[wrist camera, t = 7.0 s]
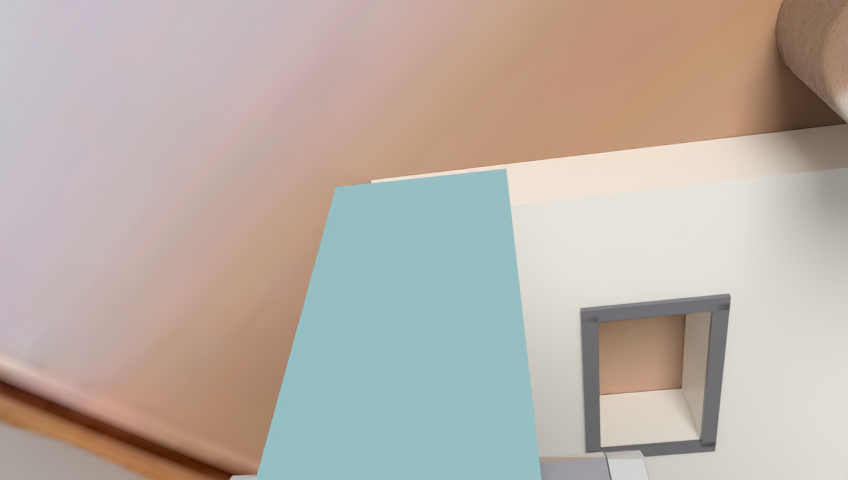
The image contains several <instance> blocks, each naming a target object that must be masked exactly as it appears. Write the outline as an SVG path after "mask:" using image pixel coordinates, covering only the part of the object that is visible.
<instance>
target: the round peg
mask: <svg viewBox="0 0 848 480" xmlns="http://www.w3.org/2000/svg"><path fill="white" fill-rule="evenodd" d="M776 37H777V45H778V49H779V52H780V55H781V57H782V59H783V61H784V62H785V64H786V65H787V67H788V68H789V69H790V70H791V71H792V72H793V73H794V74H795V75H796V76H797V77H798V78H799V79H801V80H802V81H803V82H804V83H805V84H806V85H807V86H808V87H809V88H810V89H811V90H812V91H813V92H814V93H816V94H817V95H818V96H819V97H820V98H821V99H822V100H823V101H824V102H825V103H826V104H827V105H828V106H829V107H830V108H832V109H833V110H834V111H835V112H836V113H837V114H838V115H839V116H840V117H841V118H842V119H843V120H844V121H845V122H846V123H848V0H784V1H783V3H782V5H781V8H780V12H779V15H778V20H777V28H776Z"/></svg>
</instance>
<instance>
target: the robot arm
mask: <svg viewBox="0 0 848 480" xmlns="http://www.w3.org/2000/svg"><path fill="white" fill-rule="evenodd" d="M539 461H540V470H541V479H542V480H650V477H649V473H648V470H647V466H646V462H645V458H644V456H643V454H642V453H641V451H640V450H634V451H619V452H605V454H604V453H603V452H594V453H581V454H568V455H556V456H543V457H539ZM256 477H257V475H240V476H232V477H231V479H230V480H256Z"/></svg>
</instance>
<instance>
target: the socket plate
mask: <svg viewBox="0 0 848 480" xmlns="http://www.w3.org/2000/svg"><path fill="white" fill-rule="evenodd" d="M498 169H506V170H507V179H508V188H509V197H510V206H511V215H512V223H513V232H514V241H515V250H516V259H517V267H518V276H519V285H520V294H521V303H522V312H523V320H524V329H525V338H526V347H527V356H528V364H529V373H530V382H531V391H532V400H533V409H534V417H535V426H536V435H537V444H538V453H539V457H543V456H556V455H568V454H581V453H594V452H603V453H604V454H605V452H619V451H634V450H640V451H641V453H642V454H643V456H644V458H645V462H646V466H647V470H648V473H649V477H650V480H848V124H841V125H833V126H824V127H816V128H808V129H799V130H791V131H782V132H774V133H765V134H757V135H748V136H740V137H732V138H723V139H715V140H706V141H698V142H689V143H681V144H673V145H664V146H656V147H647V148H639V149H630V150H622V151H613V152H605V153H597V154H588V155H580V156H571V157H563V158H554V159H546V160H538V161H529V162H521V163H512V164H504V165H495V166H487V167H478V168H470V169H462V170H453V171H445V172H436V173H428V174H419V175H411V176H403V177H394V178H386V179H377V180H372V181H371V183H379V182H388V181H397V180H406V179H415V178H425V177H434V176H443V175H452V174H461V173H471V172H480V171H489V170H498ZM679 314H686V322H685V338H684V355H683V371H682V387H681V389H669V390H657V391H646V392H634V393H623V394H611V395H600V393H599V350H598V322H606V321H617V320H627V319H637V318H648V317H658V316H669V315H679Z"/></svg>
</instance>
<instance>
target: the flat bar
mask: <svg viewBox="0 0 848 480" xmlns="http://www.w3.org/2000/svg"><path fill="white" fill-rule="evenodd" d="M256 480H542V479H541V470H540V461H539V453H538V444H537V435H536V426H535V417H534V409H533V400H532V391H531V382H530V373H529V364H528V356H527V347H526V338H525V329H524V320H523V312H522V303H521V294H520V285H519V276H518V267H517V259H516V250H515V241H514V232H513V223H512V215H511V206H510V197H509V188H508V179H507V170H506V169H498V170H489V171H480V172H471V173H461V174H452V175H443V176H434V177H425V178H415V179H406V180H397V181H388V182H379V183H369V184H360V185H351V186H342V187H336V189H335V192H334V196H333V200H332V203H331V207H330V211H329V214H328V218H327V222H326V225H325V229H324V232H323V236H322V240H321V243H320V247H319V251H318V254H317V258H316V262H315V265H314V269H313V273H312V276H311V280H310V284H309V287H308V291H307V295H306V298H305V302H304V306H303V309H302V313H301V317H300V320H299V324H298V327H297V331H296V335H295V338H294V342H293V346H292V349H291V353H290V357H289V360H288V364H287V368H286V371H285V375H284V379H283V382H282V386H281V390H280V393H279V397H278V401H277V404H276V408H275V412H274V415H273V419H272V422H271V426H270V430H269V433H268V437H267V441H266V444H265V448H264V452H263V455H262V459H261V463H260V466H259V470H258V474H257V477H256Z"/></svg>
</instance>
